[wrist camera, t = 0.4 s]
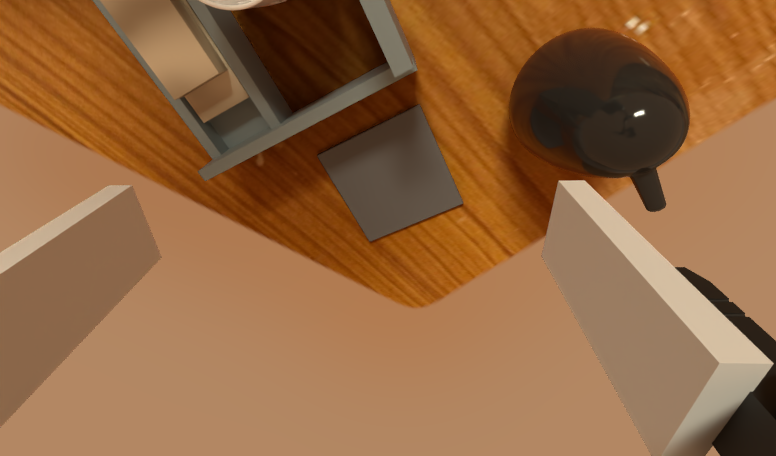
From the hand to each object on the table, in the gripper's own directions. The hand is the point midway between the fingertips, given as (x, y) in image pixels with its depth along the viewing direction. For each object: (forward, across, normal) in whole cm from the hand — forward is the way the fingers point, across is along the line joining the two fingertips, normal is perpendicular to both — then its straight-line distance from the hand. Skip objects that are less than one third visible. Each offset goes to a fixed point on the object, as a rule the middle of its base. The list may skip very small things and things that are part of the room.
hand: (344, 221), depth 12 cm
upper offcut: (+22, -17, +6) cm, 29 cm away
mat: (+25, +1, -9) cm, 27 cm away
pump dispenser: (+25, +16, -1) cm, 30 cm away
